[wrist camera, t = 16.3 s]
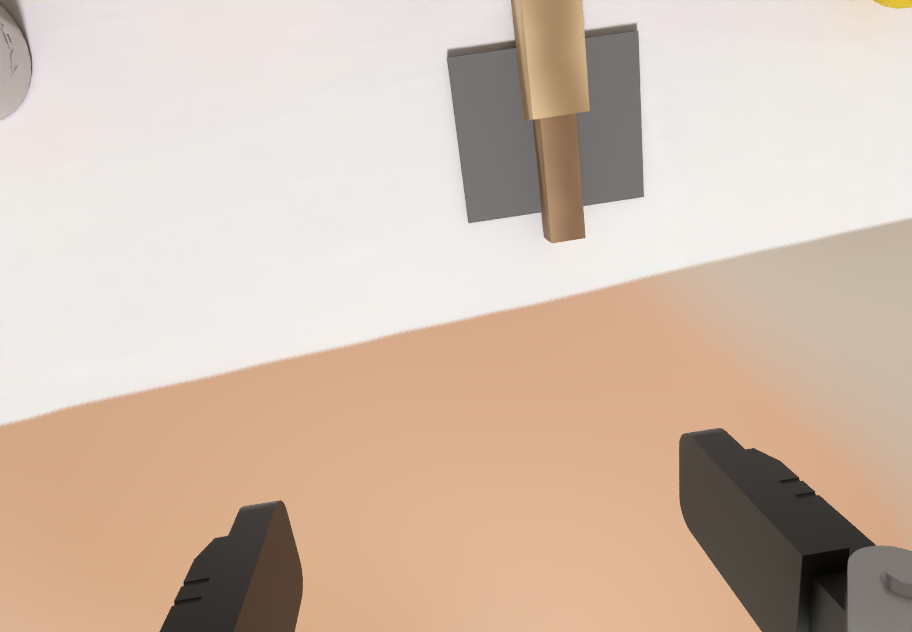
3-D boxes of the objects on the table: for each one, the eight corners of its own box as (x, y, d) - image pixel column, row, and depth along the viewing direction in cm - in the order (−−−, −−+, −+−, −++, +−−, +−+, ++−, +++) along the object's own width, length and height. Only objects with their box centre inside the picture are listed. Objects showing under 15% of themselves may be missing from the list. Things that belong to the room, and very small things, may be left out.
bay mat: (468, 222, 46) (469, 223, 45) (447, 58, 42) (447, 57, 41) (641, 196, 46) (643, 196, 46) (635, 31, 42) (638, 30, 42)
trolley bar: (535, 238, 46) (545, 247, 43) (509, -14, 40) (518, -28, 37) (584, 230, 46) (598, 238, 43) (565, -23, 40) (579, -36, 37)
